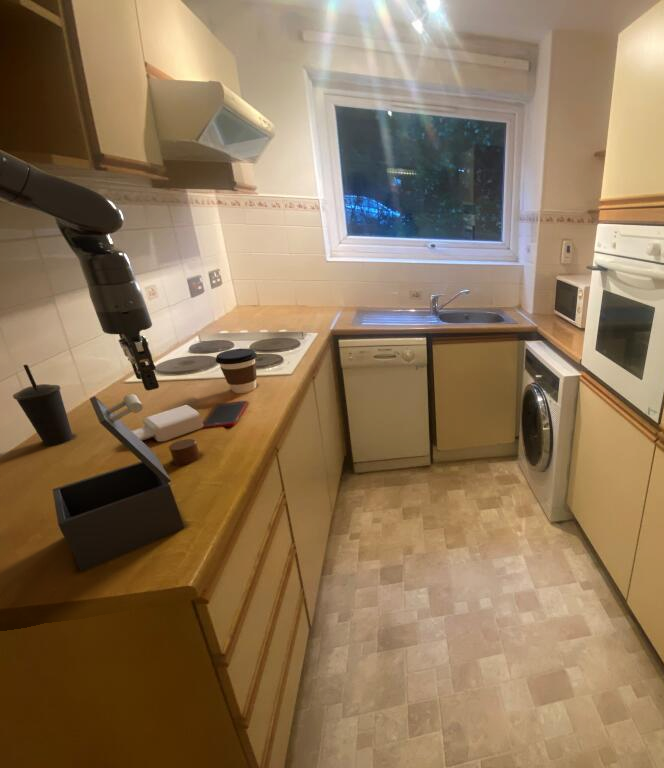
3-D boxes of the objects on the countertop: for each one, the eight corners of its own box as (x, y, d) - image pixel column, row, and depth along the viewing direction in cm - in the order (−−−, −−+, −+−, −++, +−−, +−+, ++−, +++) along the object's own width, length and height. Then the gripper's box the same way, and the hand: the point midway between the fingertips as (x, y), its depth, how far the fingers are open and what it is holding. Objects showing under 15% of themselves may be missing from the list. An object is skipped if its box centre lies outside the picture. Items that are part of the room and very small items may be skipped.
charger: (120, 443, 105) (190, 419, 116) (133, 455, 100) (205, 428, 111) (113, 426, 103) (185, 403, 114) (125, 437, 98) (199, 412, 109)
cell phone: (248, 403, 126) (247, 400, 126) (234, 426, 113) (234, 423, 113) (217, 406, 124) (216, 403, 123) (200, 430, 111) (199, 427, 111)
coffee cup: (230, 384, 139) (221, 349, 135) (267, 381, 142) (260, 346, 138) (219, 398, 130) (208, 360, 125) (259, 394, 133) (251, 357, 128)
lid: (99, 422, 65) (137, 402, 67) (89, 398, 72) (123, 380, 75) (166, 484, 73) (197, 463, 76) (150, 456, 81) (179, 439, 84)
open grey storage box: (82, 574, 68) (58, 524, 64) (74, 535, 76) (52, 489, 72) (185, 530, 77) (169, 484, 73) (168, 500, 85) (153, 457, 81)
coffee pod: (177, 470, 95) (171, 452, 93) (172, 461, 98) (166, 444, 96) (203, 461, 98) (198, 444, 96) (197, 453, 101) (192, 436, 99)
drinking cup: (44, 439, 106) (9, 362, 99) (85, 432, 110) (54, 357, 102) (31, 454, 100) (-7, 373, 92) (75, 445, 103) (41, 367, 96)
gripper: (89, 303, 85) (118, 379, 91) (100, 315, 76) (131, 398, 83) (137, 297, 90) (162, 370, 96) (152, 308, 81) (178, 387, 88)
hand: (148, 383), depth 89 cm, fingers open, 8 cm apart
